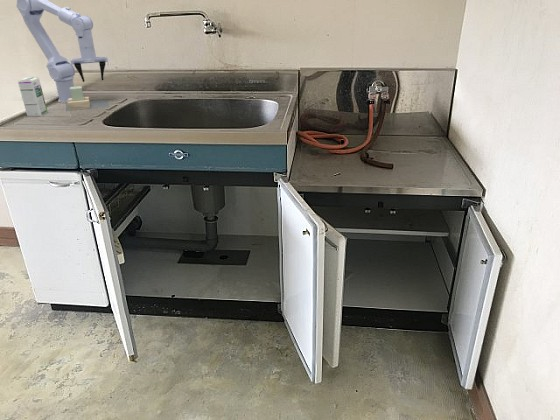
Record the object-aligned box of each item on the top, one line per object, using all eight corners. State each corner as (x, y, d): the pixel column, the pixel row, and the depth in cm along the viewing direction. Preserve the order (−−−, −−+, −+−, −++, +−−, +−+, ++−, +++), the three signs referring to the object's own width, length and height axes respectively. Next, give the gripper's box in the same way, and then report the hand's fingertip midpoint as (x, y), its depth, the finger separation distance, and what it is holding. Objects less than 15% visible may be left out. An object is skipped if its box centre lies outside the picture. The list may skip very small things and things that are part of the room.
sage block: (72, 99, 197) (69, 87, 195) (83, 98, 199) (81, 86, 197) (72, 101, 194) (70, 89, 191) (84, 100, 195) (81, 88, 193)
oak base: (69, 105, 200) (68, 98, 198) (89, 103, 202) (88, 96, 201) (69, 110, 193) (68, 102, 192) (90, 108, 196) (88, 100, 194)
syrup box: (41, 117, 186) (32, 79, 180) (26, 117, 186) (17, 80, 180) (48, 113, 191) (39, 76, 185) (33, 113, 191) (24, 77, 185)
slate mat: (66, 104, 204) (66, 103, 204) (107, 100, 209) (107, 99, 209) (65, 112, 192) (65, 111, 192) (109, 108, 197) (109, 106, 197)
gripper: (68, 49, 191) (75, 83, 197) (105, 47, 195) (111, 80, 202) (68, 47, 197) (75, 80, 203) (104, 45, 201) (110, 77, 207)
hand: (93, 80), depth 203 cm, fingers open, 7 cm apart
